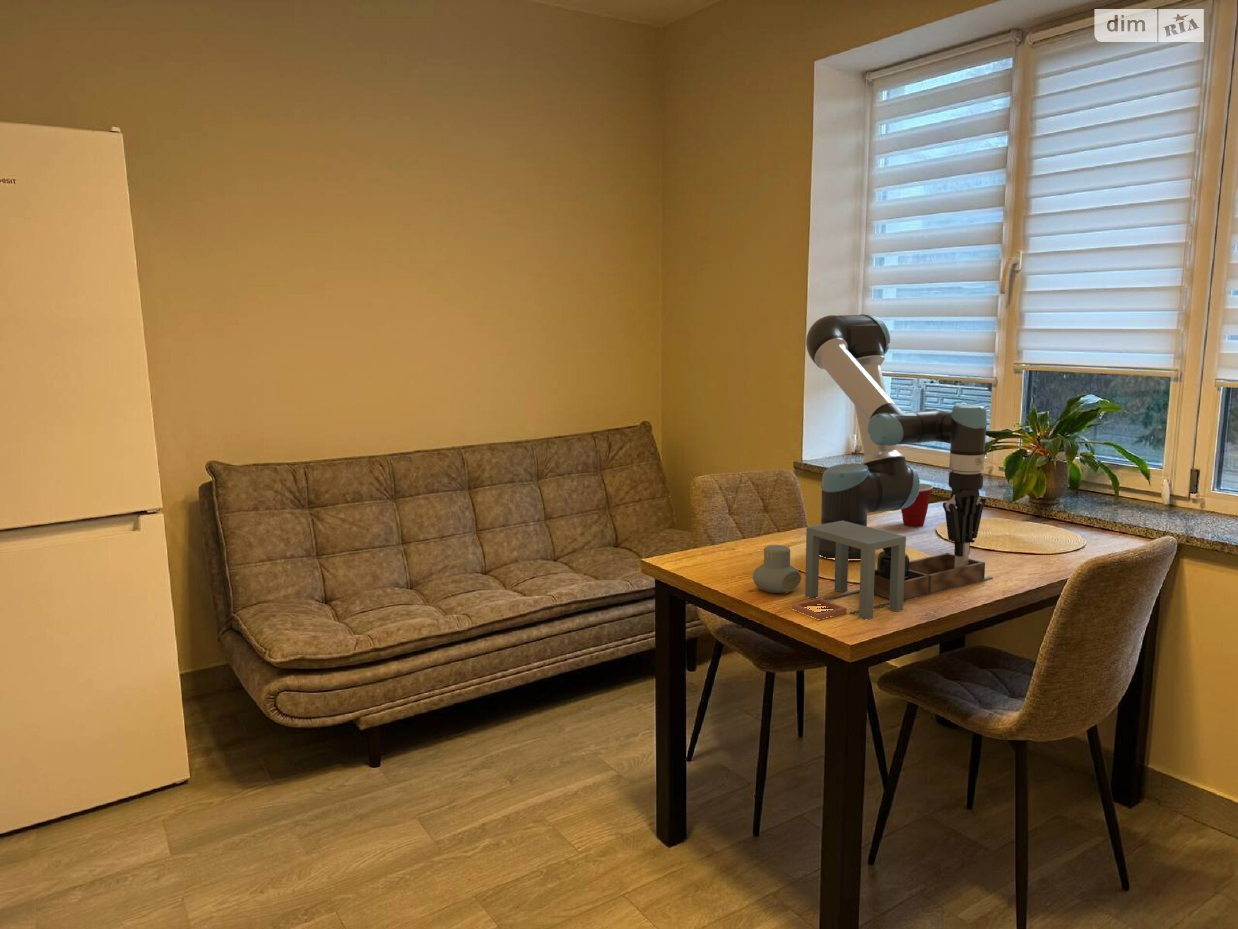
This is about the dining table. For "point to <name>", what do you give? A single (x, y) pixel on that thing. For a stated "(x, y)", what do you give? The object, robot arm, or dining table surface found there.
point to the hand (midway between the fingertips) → (961, 568)
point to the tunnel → (868, 543)
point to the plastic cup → (918, 507)
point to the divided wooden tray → (933, 576)
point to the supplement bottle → (889, 564)
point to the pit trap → (819, 615)
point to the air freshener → (776, 571)
